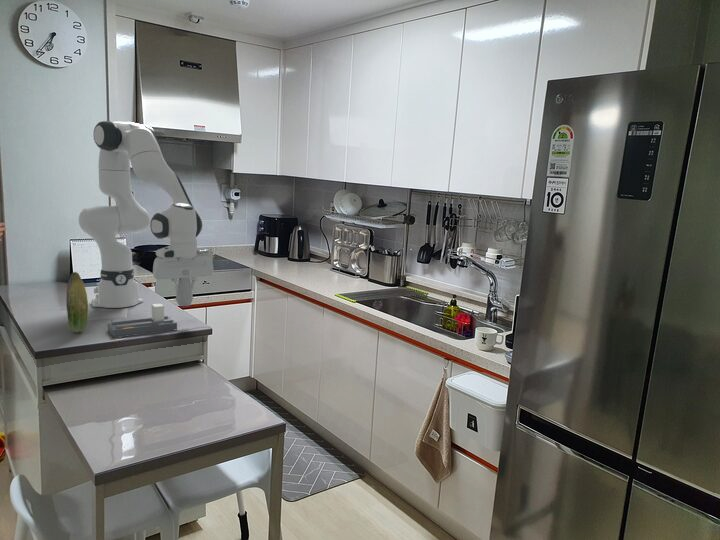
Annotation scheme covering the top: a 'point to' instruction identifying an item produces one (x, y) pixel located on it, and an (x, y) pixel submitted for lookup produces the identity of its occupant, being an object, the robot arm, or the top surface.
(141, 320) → the switch plate
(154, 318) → the slider knob
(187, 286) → the salt shaker
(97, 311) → the top surface
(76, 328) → the vegetable
